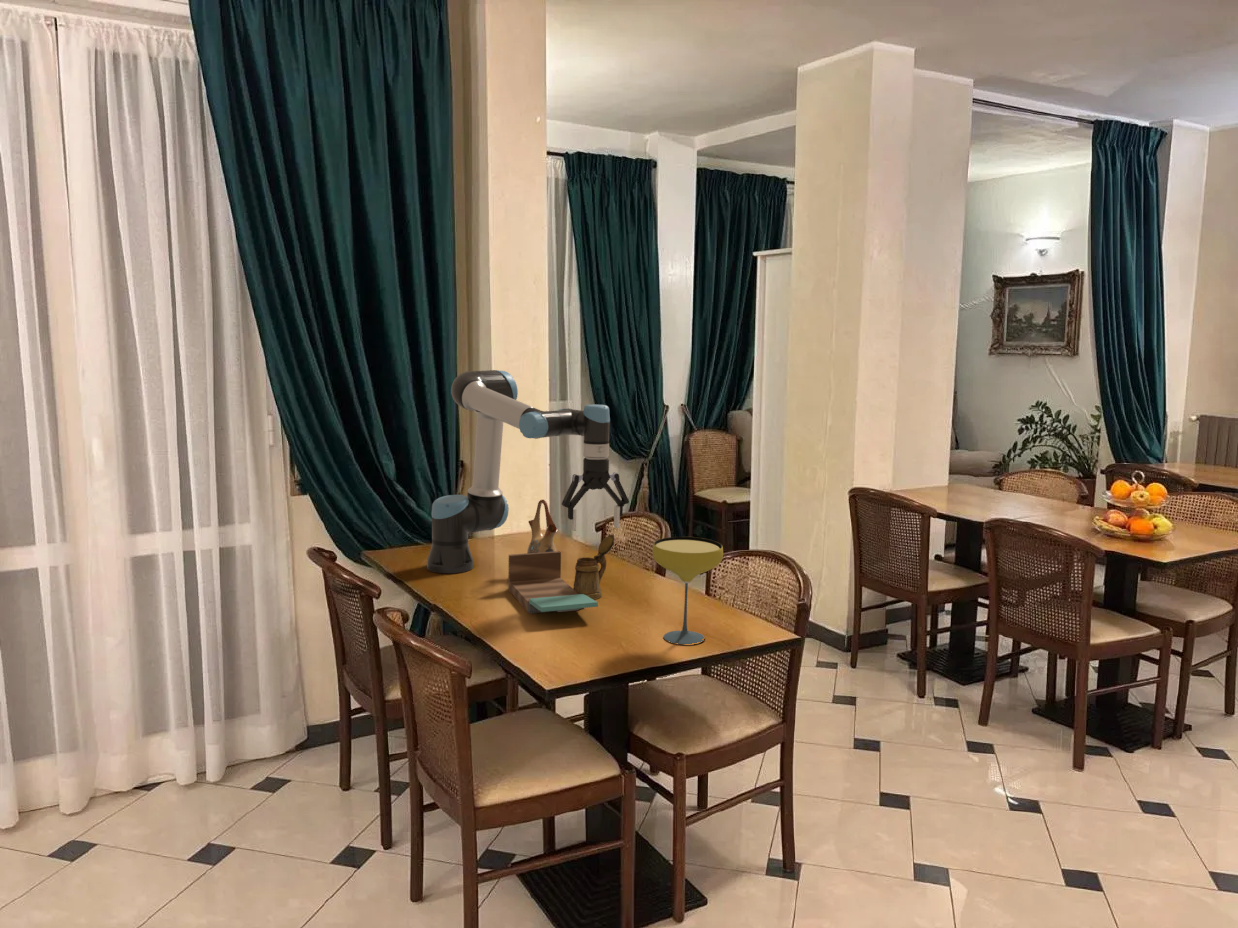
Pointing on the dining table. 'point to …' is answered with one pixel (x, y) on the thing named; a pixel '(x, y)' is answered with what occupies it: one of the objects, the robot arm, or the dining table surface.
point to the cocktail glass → (686, 570)
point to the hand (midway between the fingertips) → (595, 528)
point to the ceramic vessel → (538, 539)
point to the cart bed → (536, 578)
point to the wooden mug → (592, 570)
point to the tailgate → (563, 603)
